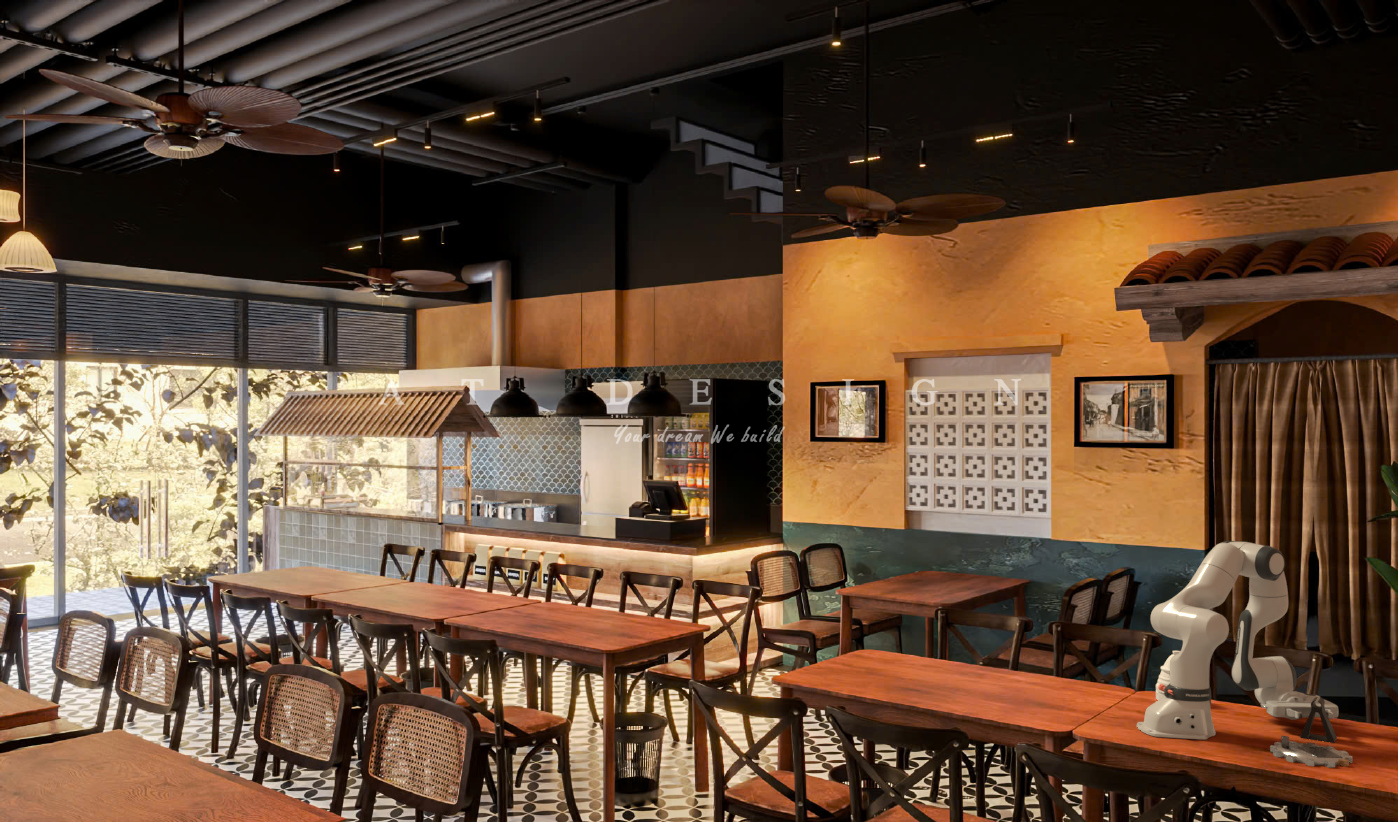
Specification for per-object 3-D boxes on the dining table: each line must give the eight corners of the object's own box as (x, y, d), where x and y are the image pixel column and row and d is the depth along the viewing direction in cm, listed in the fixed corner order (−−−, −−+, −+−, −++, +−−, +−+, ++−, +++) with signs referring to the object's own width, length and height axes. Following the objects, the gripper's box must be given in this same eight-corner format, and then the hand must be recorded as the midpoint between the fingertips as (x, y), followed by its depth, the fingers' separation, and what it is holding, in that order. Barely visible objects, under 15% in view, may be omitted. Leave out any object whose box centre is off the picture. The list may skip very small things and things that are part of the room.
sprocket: (1294, 767, 282) (1294, 750, 282) (1256, 745, 302) (1256, 730, 302) (1368, 768, 281) (1368, 751, 282) (1325, 746, 302) (1325, 731, 302)
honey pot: (1200, 707, 348) (1200, 654, 348) (1160, 705, 350) (1160, 652, 351) (1190, 698, 360) (1189, 647, 361) (1151, 696, 363) (1151, 645, 363)
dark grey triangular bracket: (1300, 738, 311) (1299, 698, 311) (1303, 733, 316) (1302, 694, 316) (1334, 743, 305) (1333, 703, 306) (1337, 738, 310) (1336, 699, 310)
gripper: (1257, 694, 326) (1281, 705, 312) (1322, 695, 326) (1348, 705, 312) (1258, 714, 326) (1281, 725, 312) (1322, 714, 325) (1349, 726, 311)
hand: (1315, 715), depth 312 cm, fingers open, 8 cm apart
